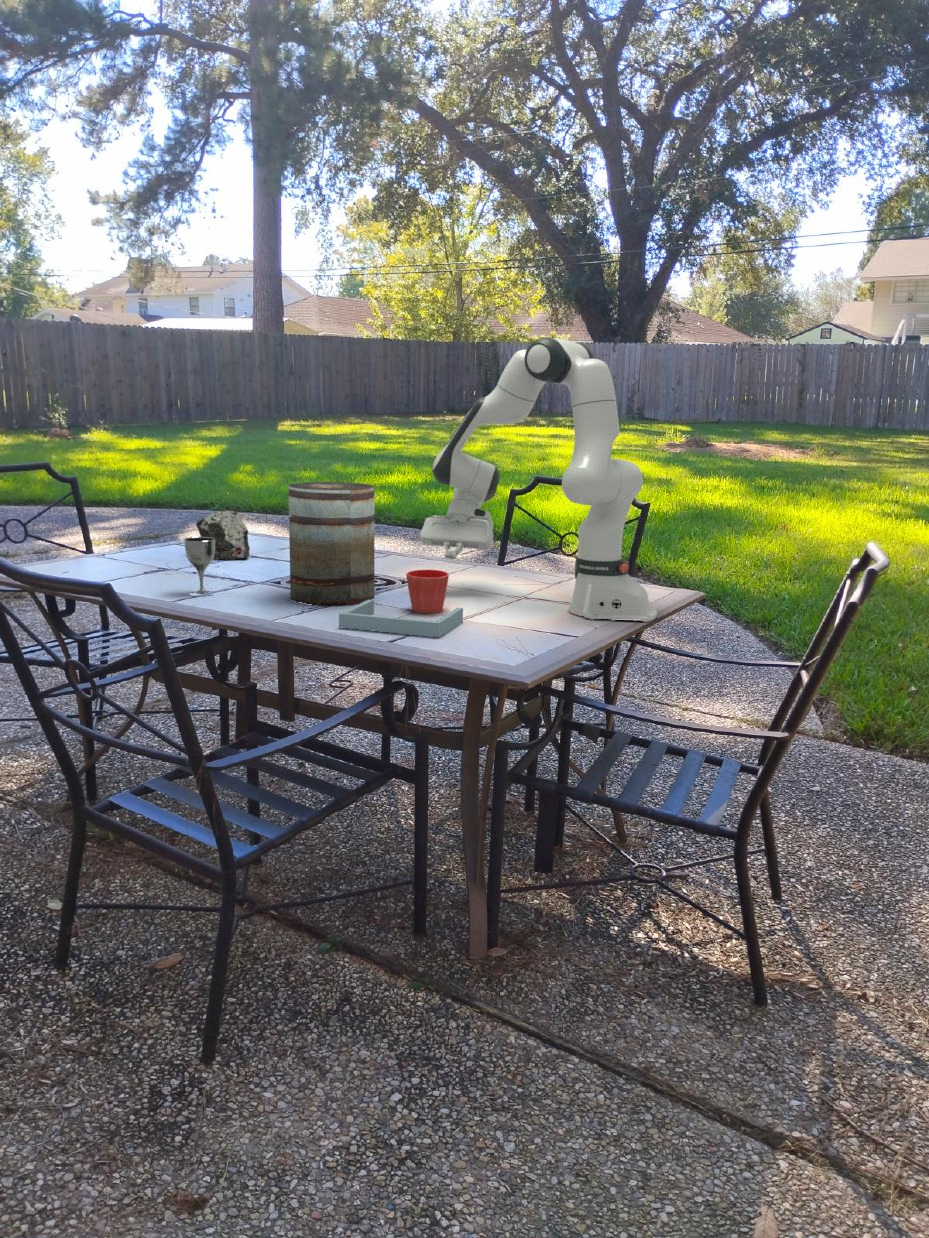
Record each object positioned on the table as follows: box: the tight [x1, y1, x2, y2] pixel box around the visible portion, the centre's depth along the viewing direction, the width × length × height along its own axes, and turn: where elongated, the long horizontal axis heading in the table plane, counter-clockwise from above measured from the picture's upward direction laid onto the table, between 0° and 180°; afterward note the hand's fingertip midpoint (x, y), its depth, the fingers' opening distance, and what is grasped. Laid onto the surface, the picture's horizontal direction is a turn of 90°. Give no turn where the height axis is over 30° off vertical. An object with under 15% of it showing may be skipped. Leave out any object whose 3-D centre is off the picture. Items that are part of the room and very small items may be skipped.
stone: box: [195, 510, 251, 561], centre depth 327 cm, size 19×18×15 cm
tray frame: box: [338, 599, 464, 638], centre depth 239 cm, size 25×18×4 cm
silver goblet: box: [183, 536, 215, 594], centre depth 268 cm, size 8×8×15 cm
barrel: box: [288, 481, 375, 607], centre depth 266 cm, size 22×22×30 cm
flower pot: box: [405, 569, 450, 614], centre depth 255 cm, size 11×11×10 cm
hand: (450, 557), depth 270 cm, fingers closed
